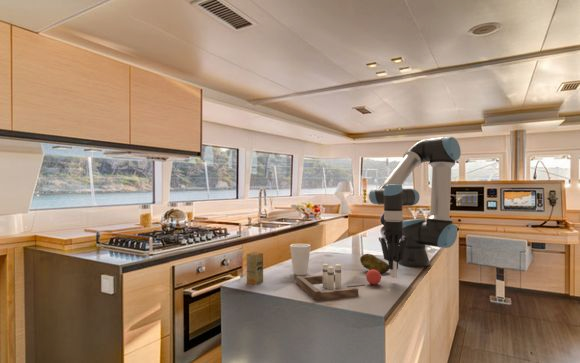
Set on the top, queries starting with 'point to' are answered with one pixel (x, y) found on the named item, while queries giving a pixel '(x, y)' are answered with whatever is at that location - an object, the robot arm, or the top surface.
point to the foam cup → (300, 258)
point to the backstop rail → (320, 295)
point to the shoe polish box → (254, 268)
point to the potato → (374, 263)
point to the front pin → (338, 276)
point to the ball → (373, 277)
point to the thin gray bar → (356, 285)
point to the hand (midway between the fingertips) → (393, 276)
